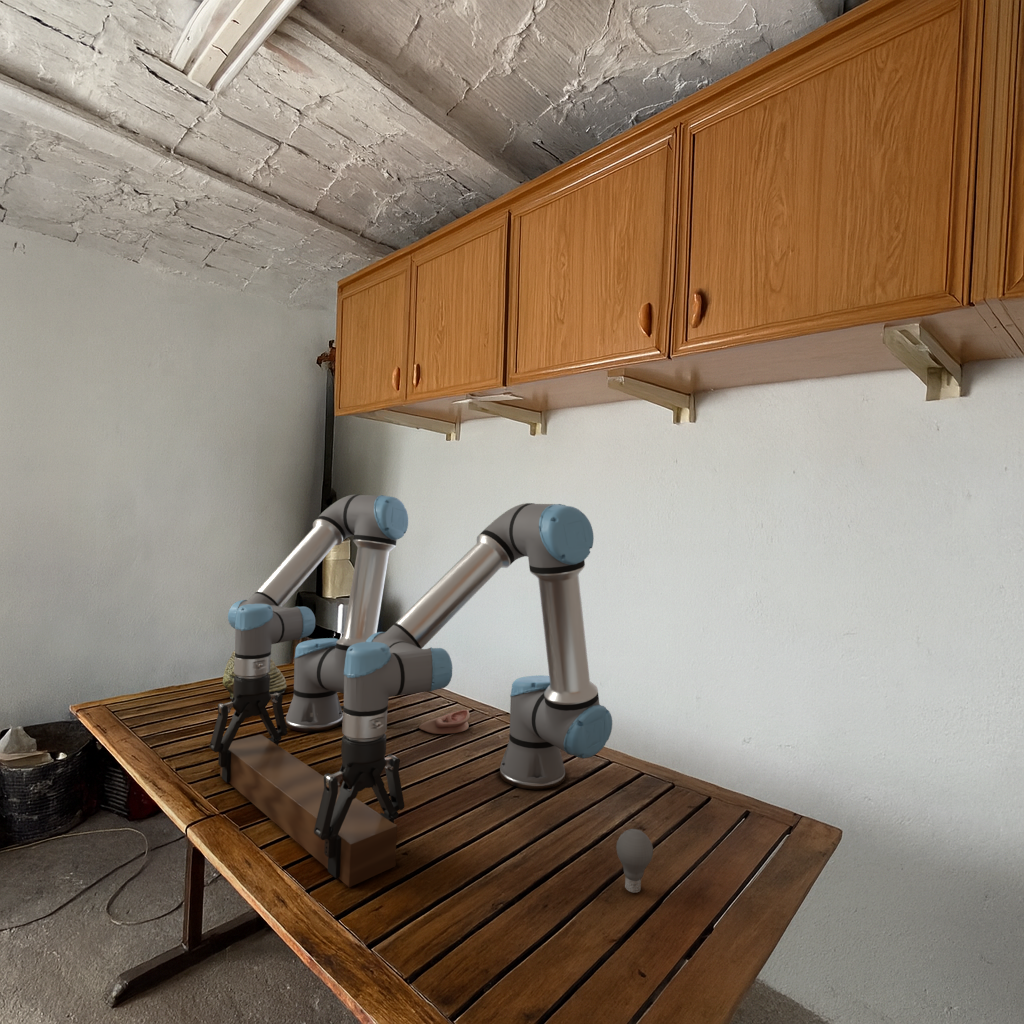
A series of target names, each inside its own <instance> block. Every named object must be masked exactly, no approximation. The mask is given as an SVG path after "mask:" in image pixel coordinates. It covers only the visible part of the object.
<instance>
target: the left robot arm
mask: <svg viewBox="0 0 1024 1024" xmlns="http://www.w3.org/2000/svg"><path fill="white" fill-rule="evenodd" d="M408 529H409V514H408V511H407V508H406V507H405V504H404V503H403V502H402V501H401V500H400V499H399V498H397V497H395V496H390V495H383V494H380V495H377V494H376V495H375V494H349V495H346V496H344V497H341V498H340V499H338V500H336V501H335V502H333V503H332V504H330V505H329V506H328V507H327V508H325V510H323V511H322V512H321V513H320V514H319V515H318V516H317V518H316V519H315V520H314V521H313V522H312V528H311V530H310V531H309V532H308V533H307V534H306V535H305V536H304V537H303V538H302V540H301V541H300V542H299V543H298V544H297V545H296V546H295V547H294V549H293V550H292V551H291V552H290V553H289V554H288V555H287V557H285V559H283V561H282V562H281V563H280V564H279V565H278V567H277V568H275V569H274V570H273V572H272V573H271V574H270V575H269V576H268V577H267V578H266V580H265V581H264V582H262V584H261V585H260V586H259V587H258V588H257V590H256V591H255V592H254V593H253V594H251V596H250V597H249V598H248V599H240V600H237V601H236V602H234V603H233V604H232V605H231V607H230V608H229V610H228V613H227V620H228V624H229V625H230V627H231V628H233V630H235V631H234V651H235V661H234V674H235V675H236V676H235V677H234V687H233V694H234V696H233V698H231V701H229V702H225V703H223V702H220V703H218V704H217V717H216V721H215V725H214V729H213V733H212V735H211V738H210V739H211V740H210V743H209V749H210V750H212V751H213V752H214V753H218V757H217V758H218V760H217V761H218V762H217V764H218V766H219V767H222V776H221V779H222V780H223V781H224V782H225V783H227V784H229V782H230V775H231V752H230V751H229V750H228V749H229V747H230V745H231V743H232V741H234V739H235V737H236V736H237V733H238V731H239V729H240V727H241V725H242V724H243V723H244V722H245V720H246V719H249V718H252V717H258V716H259V717H260V719H261V721H262V723H263V726H264V728H265V729H266V731H267V732H268V734H269V736H270V737H268V738H267V737H266V738H267V739H269V740H270V741H272V742H273V743H275V744H276V745H278V746H279V747H280V745H279V744H280V743H279V742H280V741H281V740H282V737H283V736H287V735H288V729H289V730H291V731H294V732H295V731H296V732H301V733H316V732H325V731H329V730H332V729H335V728H337V727H339V726H340V725H342V722H343V706H344V705H341V702H340V699H339V695H338V693H339V694H343V695H344V668H345V658H346V652H347V649H348V648H349V647H350V646H351V645H353V644H356V643H360V642H366V640H367V639H368V638H369V637H370V636H371V635H373V634H375V633H378V626H379V620H380V614H381V608H382V601H383V595H384V590H385V589H384V587H385V583H386V576H387V568H388V562H389V557H390V556H389V555H390V552H391V551H393V550H394V549H395V548H396V547H397V541H398V540H400V539H402V538H403V537H404V536H405V534H406V533H407V531H408ZM349 537H353V539H352V541H353V543H354V544H355V546H356V547H357V551H356V556H355V563H354V568H353V575H352V580H351V587H350V592H349V599H348V604H347V605H348V606H347V611H346V616H345V623H344V629H343V635H342V636H341V637H340V638H339V639H338V638H335V637H329V638H328V637H326V638H313V639H308V640H304V641H302V642H299V643H298V644H297V645H296V647H295V652H294V653H295V654H294V657H293V659H294V660H293V662H294V663H293V665H294V666H293V695H292V696H293V697H292V699H291V702H290V704H289V708H288V711H287V713H286V715H285V713H284V709H283V700H284V695H283V694H282V693H280V694H279V693H277V692H275V693H274V694H270V693H269V689H270V675H269V674H268V673H269V672H270V662H271V659H272V658H271V657H272V645H275V644H279V643H285V642H289V641H295V640H297V641H298V640H301V639H303V638H306V637H309V636H310V635H312V634H313V632H314V630H315V628H316V617H315V614H314V612H313V611H312V609H311V608H309V607H307V606H298V605H297V606H296V605H295V606H294V607H285V605H286V603H287V602H288V601H289V600H290V599H291V598H292V596H293V595H294V594H295V593H296V592H297V590H298V589H299V588H300V587H301V586H302V585H303V584H304V582H306V580H307V579H308V578H309V576H310V575H311V574H312V573H313V572H314V570H315V569H316V568H317V567H318V566H319V565H320V564H321V562H322V561H323V560H324V559H325V557H326V556H328V554H329V553H330V552H331V550H332V549H333V548H334V547H335V546H340V545H341V544H342V543H343V542H344V541H345V540H346V539H347V538H349ZM269 703H271V705H272V710H273V715H274V720H275V724H276V726H275V724H274V722H273V720H272V719H271V716H270V714H269V712H268V710H267V708H266V707H267V706H268V704H269ZM232 708H233V709H234V712H233V714H232V718H231V720H230V723H229V724H228V727H227V729H226V726H227V723H228V719H229V714H230V713H231V710H232Z"/></svg>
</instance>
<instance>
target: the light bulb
mask: <svg viewBox="0 0 1024 1024" xmlns="http://www.w3.org/2000/svg"><path fill="white" fill-rule="evenodd" d="M615 849H616V854H617V857H618V859H619V861H620V863H621V865H622V867H623V873H624V874H623V875H624V876H625V878H624V888H625V890H627V891H628V892H630V893H634V894H635V893H639V892H640V891H641V889H642V887H641V886H642V879H643V877H644V875H645V871H646V868H647V867H648V866H649V864H650V863H651V861H652V859H653V855H654V847H653V843H652V841H651V838H649V836H648V835H647V834H646V833H645V832H643V831H642V830H641V829H636V828H629V829H627V830H625V831H623V832H622V833H621V834H620V835H619V837H618V839H617V841H616V847H615Z"/></svg>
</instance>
